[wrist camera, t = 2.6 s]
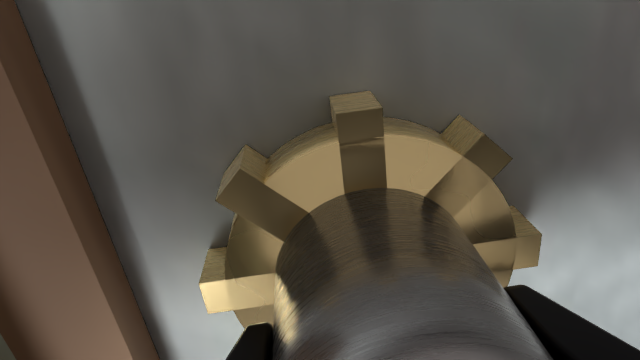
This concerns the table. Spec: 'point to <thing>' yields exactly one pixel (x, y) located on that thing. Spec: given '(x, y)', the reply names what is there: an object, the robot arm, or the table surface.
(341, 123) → the brass gear
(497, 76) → the table surface
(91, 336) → the gear board
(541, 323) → the robot arm
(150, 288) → the table surface
